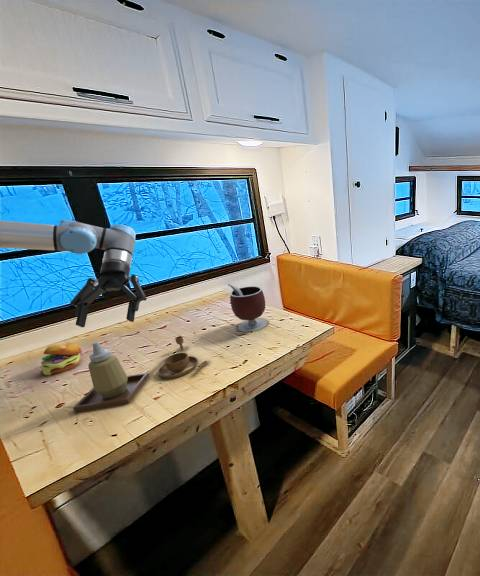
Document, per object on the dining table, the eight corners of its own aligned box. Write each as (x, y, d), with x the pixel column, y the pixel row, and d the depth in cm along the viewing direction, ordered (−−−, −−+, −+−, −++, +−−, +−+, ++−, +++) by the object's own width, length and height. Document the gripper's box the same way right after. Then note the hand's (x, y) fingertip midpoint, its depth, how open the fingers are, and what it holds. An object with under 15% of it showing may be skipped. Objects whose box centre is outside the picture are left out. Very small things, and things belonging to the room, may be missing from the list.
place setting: (142, 380, 102) (136, 365, 100) (179, 348, 121) (176, 335, 119) (193, 379, 102) (189, 364, 100) (223, 348, 121) (220, 335, 119)
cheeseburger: (32, 376, 106) (28, 348, 105) (68, 365, 116) (65, 339, 115) (56, 377, 104) (53, 349, 103) (90, 366, 115) (87, 340, 114)
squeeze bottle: (90, 401, 92) (68, 350, 86) (112, 384, 100) (93, 336, 94) (118, 400, 92) (97, 349, 86) (137, 383, 100) (119, 335, 94)
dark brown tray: (75, 413, 88) (72, 407, 88) (103, 384, 101) (101, 379, 100) (129, 404, 91) (127, 399, 91) (149, 377, 104) (148, 372, 103)
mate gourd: (275, 320, 143) (268, 280, 136) (256, 335, 130) (248, 291, 124) (246, 318, 147) (238, 278, 140) (226, 331, 134) (216, 289, 127)
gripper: (162, 267, 112) (155, 322, 103) (81, 274, 106) (67, 331, 98) (151, 257, 105) (143, 314, 97) (65, 263, 100) (48, 324, 91)
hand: (105, 323), depth 97 cm, fingers open, 13 cm apart
